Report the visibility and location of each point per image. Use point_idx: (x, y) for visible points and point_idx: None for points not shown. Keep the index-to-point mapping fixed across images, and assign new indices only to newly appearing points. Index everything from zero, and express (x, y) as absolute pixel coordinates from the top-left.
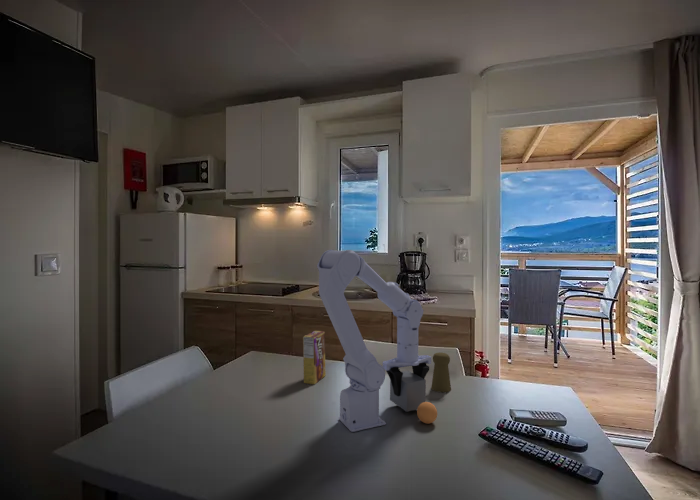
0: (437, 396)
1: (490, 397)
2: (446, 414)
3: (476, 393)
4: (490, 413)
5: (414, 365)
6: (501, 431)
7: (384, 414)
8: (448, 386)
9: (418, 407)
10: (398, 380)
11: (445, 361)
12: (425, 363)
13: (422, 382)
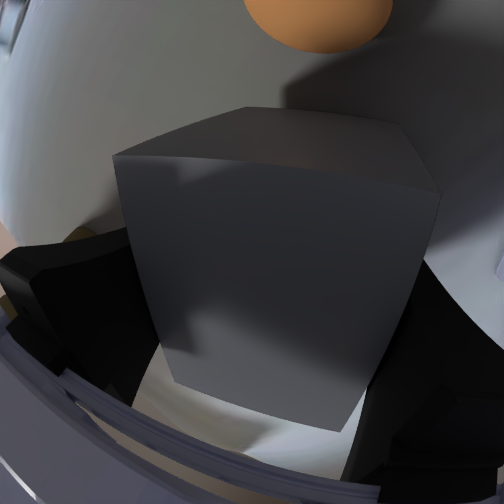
0: (121, 219)
1: (15, 135)
2: (170, 48)
3: (30, 174)
4: (48, 28)
5: (74, 438)
6: None
7: (464, 219)
8: (68, 238)
9: (377, 10)
10: (455, 322)
11: (7, 302)
12: (12, 328)
13: (167, 147)
